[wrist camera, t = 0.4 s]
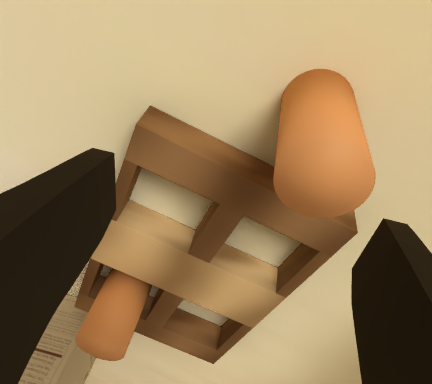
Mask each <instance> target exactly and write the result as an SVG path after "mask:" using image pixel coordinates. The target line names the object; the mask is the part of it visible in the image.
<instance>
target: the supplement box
mask: <svg viewBox="0 0 432 384" xmlns="http://www.w3.org/2000/svg"><path fill="white" fill-rule="evenodd" d="M76 300H77V297H75V296H71V295H67V294H66V296H65V298H64V299H63V301H62V302H61V304H60V305H59V307H58V308H57V310H56V312H55V313H54V315H53V317H52V318H51V320H50V322H49V324H48V326H47V327H46V329H45V331H44V333H43V335H42V337H41V339H40V341H39V343H38V345H37V347H36V349H35V351H34V352H33V354H32V356H31V358H30V360H29V362H28V364H27V366H26V368H25V370H24V373H23V375H22V377H21V379H20V381H19V383H18V384H84V383H85V381H86V379H87V376H88V374H89V372H90V370H91V368H92V366H93V363H94V361H95V359H96V357H94V356H91V355H89V354H88V353H86V352H84V351H83V350H82V349H81V348H79V346H78V345H77V344H76V342H75V337H76V335H77V334H78V332H79V330H80V328H81V326H82V324H83V322H84V320H85V318H86V316H87V315H88V312H86V311H83V310H81V309H78V308H76V307H74V306H75V303H76Z"/></svg>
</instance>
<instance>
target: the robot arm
mask: <svg viewBox="0 0 432 384" xmlns="http://www.w3.org/2000/svg"><path fill="white" fill-rule="evenodd" d="M115 211H116V186H115V159H114V153H112V152H107V151H103V150H99V149H95V148H91V149H89V150H87V151H85V152H83V153H81V154H79V155H77V156H75V157H73V158H71V159H69V160H67V161H65V162H64V163H62V164H60V165H58V166H56V167H54V168H52V169H50V170H48V171H46V172H44V173H42V174H40V175H38V176H36V177H34V178H32V179H30V180H29V181H27V182H25V183H23V184H21V185H18V186H16V187H14V188H12V189H10V190H7V191H5V192H3V193H1V194H0V384H18V383H19V381H20V379H21V377H22V375H23V373H24V370H25V368H26V366H27V364H28V362H29V360H30V358H31V356H32V354H33V352H34V351H35V349H36V347H37V345H38V343H39V341H40V339H41V337H42V335H43V333H44V331H45V329H46V327H47V326H48V324H49V322H50V320H51V318H52V317H53V315H54V313H55V312H56V310H57V308H58V307H59V305H60V304H61V302H62V301H63V299H64V298H65V296H66V294H67V293H68V291H69V290H70V288H71V287H72V285H73V284H74V282H75V281H76V279H77V278H78V276H79V275H80V273H81V272H82V270H83V268H84V267H85V265H86V264H87V262H88V261H89V259H90V258H91V256H92V255H93V253H94V251H95V250H96V248H97V247H98V245H99V244H100V242H101V240H102V239H103V237H104V235H105V232H106V230H107V228H108V226H109V224H110V222H111V220H112V218H113V216H114V213H115ZM352 311H353V319H354V327H355V335H356V342H357V349H358V357H359V364H360V372H361V379H362V384H432V254H431V252H430V251H429V250H428V249H427V247H426V246H425V245H424V244H423V242H422V241H421V240H420V239H419V237H418V236H417V235H416V234H415V232H414V231H413V230H412V229H411V228H410V227H409V226H408V225H407V224H404V223H400V222H396V221H392V220H388V219H384V218H383V220H382V221H381V223H380V225H379V226H378V228H377V229H376V231H375V233H374V234H373V236H372V237H371V239H370V241H369V242H368V244H367V245H366V247H365V249H364V250H363V252H362V253H361V255H360V257H359V258H358V260H357V261H356V263H355V265H354V266H353V268H352Z"/></svg>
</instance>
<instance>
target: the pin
mask: <svg viewBox="0 0 432 384" xmlns="http://www.w3.org/2000/svg"><path fill="white" fill-rule="evenodd" d="M151 287H152V285H151V284H149V283H146V282H144V281H142V280H139V279H137V278H135V277H133V276H130V275H128V274H126V273H123V272H121V271H119V270H116V269H114V268H112V269H111V271H110V273H109V275H108V276H107V278H106V280H105V282H104V284H103V286H102V288H101V290H100V292H99V294H98V295H97V297H96V299H95V301H94V303H93V305H92V307H91V309H90V311H89V313H88V315H87V316H86V318H85V320H84V322H83V324H82V326H81V328H80V330H79V332H78V334H77V335H76V337H75V342H76V344H77V345H78V346H79V348H81V349H82V350H83V351H84V352H86V353H88V354H89V355H91V356H94V357H96V358H99V359H103V360H109V361H116V360H120V359H122V358H123V357H124V355H125V353H126V350H127V348H128V345H129V343H130V340H131V338H132V335H133V333H134V330H135V328H136V325H137V322H138V320H139V317H140V315H141V312H142V310H143V307H144V305H145V302H146V300H147V297H148V295H149V292H150V290H151Z"/></svg>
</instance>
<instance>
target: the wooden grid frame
mask: <svg viewBox="0 0 432 384" xmlns="http://www.w3.org/2000/svg"><path fill="white" fill-rule="evenodd" d="M141 167H142V168H145V169H147V170H149V171H151V172H153V173H155V174H157V175H159V176H161V177H164V178H166V179H168V180H170V181H172V182H174V183H176V184H178V185H180V186H183V187H185V188H187V189H189V190H191V191H193V192H195V193H197V194H199V195H202V196H204V197H206V198H208V199H210V200H212V201H214V202H213V203H212V205H211V206H210V208H209V210H208V211H207V213H206V215H205V216H204V218H203V219H202V221H201V223H200V224H199V226H198V227H197V229H196V230H193V229H191V228H189V227H187V226H185V225H183V224H180V223H178V222H176V221H174V220H172V219H169V218H167V217H165V216H163V215H161V214H159V213H156V212H154V211H152V210H150V209H148V208H145V207H143V206H141V205H139V204H137V203H135V202H132V201H130V200H129V198H130V196H131V193H132V191H133V188H134V185H135V183H136V180H137V178H138V175H139V173H140V170H141ZM274 168H275V167H273V166H271V165H269V164H267V163H265V162H263V161H261V160H259V159H257V158H255V157H253V156H250V155H248V154H246V153H244V152H242V151H240V150H238V149H236V148H234V147H232V146H230V145H228V144H226V143H224V142H222V141H220V140H218V139H216V138H214V137H212V136H210V135H208V134H206V133H204V132H202V131H200V130H198V129H196V128H194V127H192V126H190V125H188V124H186V123H184V122H182V121H180V120H178V119H176V118H174V117H172V116H170V115H168V114H166V113H164V112H162V111H160V110H158V109H156V108H154V107H152V106H150V107H149V108H148V109H147V111H146V112H145V113H144V115H143V116H142V117H141V119H140V120H139V121H138V122H137V124H136V126H135V129H134V132H133V135H132V138H131V141H130V144H129V147H128V150H127V153H126V156H125V158H124V161H123V164H122V167H121V170H120V173H119V176H118V179H117V182H116V185H115V186H116V211H115V213H114V216H113V218H112V220H111V222H110V224H109V226H108V228H107V230H106V232H105V235H104V237H103V239H102V240H101V242H100V244H99V245H98V247H97V248H96V250H95V251H94V253H93V255H92V256H91V259H90V261H89V264H88V267H87V270H86V273H85V276H84V279H83V282H82V285H81V288H80V291H79V294H78V297H77V300H76V303H75V306H74V307H76V308H78V309H81V310H83V311H86V312H88V313H89V311H90V309H91V307H92V305H93V303H94V301H95V299H96V297H97V295H98V294H99V292H100V290H101V288H102V286H103V284H104V282H105V280H106V278H105V277H103V276H101V275H100V273H101V270H102V268H103V265H104V264H105V265H107V266H109V267H112V268H114V269H116V270H119V271H121V272H123V273H126V274H128V275H130V276H133V277H135V278H137V279H139V280H142V281H144V282H146V283H149V284H151V285H153V286H156V287H158V288H160V289H159V290H158V292H157V294H156V295H155V297H154V298H152V297H150V296H148V297H147V300H146V302H145V305H144V307H143V310H142V312H141V315H140V317H139V320H138V322H137V325H136V328H135V330H134V332H137V333H139V334H142V335H144V336H147V337H149V338H152V339H154V340H156V341H159V342H161V343H164V344H166V345H169V346H171V347H173V348H176V349H178V350H181V351H183V352H186V353H188V354H190V355H193V356H195V357H198V358H200V359H203V360H205V361H208V362H210V363H212V364H214V363H215V362H216V361H217V360H218V359H219V358H220V357H222V356H223V355H224V354H225V353H226V352H227V351H228V350H229V349H230V348H231V347H233V346H234V345H235V344H236V343H237V342H238V341H239V340H240V339H241V338H242V337H244V336H245V335H246V334H247V333H248V332H249V331H250V330H251V329H252V328H253V327H255V326H256V325H257V324H258V323H259V322H260V321H261V320H262V319H263V318H264V317H266V316H267V315H268V314H269V313H270V312H271V311H272V310H273V309H274V308H275V307H277V306H278V305H279V304H280V303H281V302H282V301H283V300H284V299H285V298H286V297H287V296H289V295H290V294H291V293H292V292H293V291H294V290H295V289H296V288H297V287H298V286H300V285H301V284H302V283H303V282H304V281H305V280H306V279H307V278H308V277H309V276H311V275H312V274H313V273H314V272H315V271H316V270H317V269H318V268H319V267H320V266H322V265H323V264H324V263H325V262H326V261H327V260H328V259H329V258H330V257H331V256H333V255H334V254H335V253H336V252H337V251H338V250H339V249H340V248H341V247H342V246H344V245H345V244H346V243H347V242H348V241H349V240H350V239H351V238H352V237H353V236H355V235H356V234H357V233H358V231H357V225H356V219H355V213H354V210H353V211H351V212H349V213H346V214H344V215H340V216H337V217H331V218H313V217H308V216H304V215H301V214H299V213H296V212H294V211H293V210H291V209H290V208H288V207H287V206H286V205H285V204H283V203H282V201H281V200H280V199H279V197H278V196H277V194H276V191H275V188H274V182H273V178H274ZM243 216H246V217H248V218H250V219H252V220H254V221H256V222H259V223H261V224H263V225H265V226H267V227H269V228H271V229H273V230H275V231H278V232H280V233H282V234H284V235H286V236H288V237H290V238H292V239H294V240H297V241H299V242H301V243H302V244H301V245H300V246H299V247H298V248H297V249H296V250H295V251H294V252H293V253H292V254H291V255H290V256H289V257H288V258H287V259H286V260H285V261H284V262H283V263H282V264H281V265H280V267H279V268H276V267H274V266H272V265H270V264H267V263H265V262H263V261H261V260H259V259H257V258H254V257H252V256H250V255H248V254H246V253H244V252H241V251H239V250H237V249H235V248H233V247H230V246H228V245H226V244H224V242H225V241H226V239H227V238H228V237H229V235H230V234H231V233H232V231H233V230H234V228H235V227H236V226H237V224H238V223H239V222H240V220H241V219H242V217H243ZM183 298H184V299H186V300H188V301H191V302H193V303H195V304H198V305H200V306H202V307H204V308H207V309H209V310H211V311H214V312H216V313H218V314H221V315H223V316H225V317H228V318H229V319H228V320H227V321H226V322H225V323H224V325H223V326H222V327H220V326H218V325H216V324H213V323H211V322H209V321H206V320H204V319H202V318H199V317H197V316H194V315H192V314H190V313H187V312H185V311H183V310H180V309H178V308H177V307H178V305H179V304H180V303H181V301H182V300H183Z"/></svg>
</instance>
